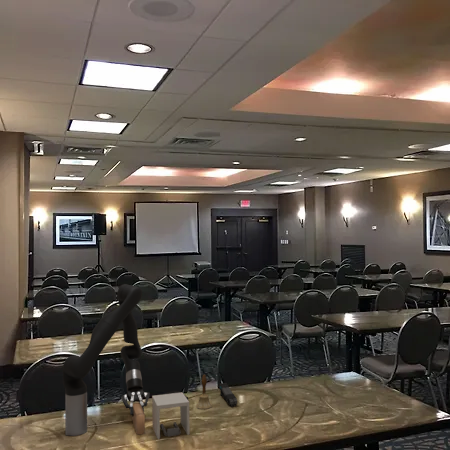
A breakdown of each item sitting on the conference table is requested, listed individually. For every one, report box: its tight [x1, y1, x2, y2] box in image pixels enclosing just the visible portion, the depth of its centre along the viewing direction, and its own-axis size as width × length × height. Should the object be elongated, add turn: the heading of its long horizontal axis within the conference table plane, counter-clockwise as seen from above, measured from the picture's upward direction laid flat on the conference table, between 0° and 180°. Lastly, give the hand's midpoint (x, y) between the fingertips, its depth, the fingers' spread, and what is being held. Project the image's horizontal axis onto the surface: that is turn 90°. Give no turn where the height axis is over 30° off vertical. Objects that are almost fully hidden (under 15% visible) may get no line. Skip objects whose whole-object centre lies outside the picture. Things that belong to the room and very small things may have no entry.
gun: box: [218, 382, 238, 408], centre depth 251 cm, size 4×20×10 cm, turn 18°
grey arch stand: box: [151, 391, 191, 440], centre depth 213 cm, size 14×14×14 cm
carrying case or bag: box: [163, 390, 189, 401], centre depth 255 cm, size 11×3×15 cm
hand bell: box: [195, 374, 213, 410], centre depth 244 cm, size 8×8×16 cm
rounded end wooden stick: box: [131, 402, 146, 436], centre depth 218 cm, size 18×4×8 cm, turn 17°
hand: (137, 415), depth 222 cm, fingers closed on rounded end wooden stick, 3 cm apart
